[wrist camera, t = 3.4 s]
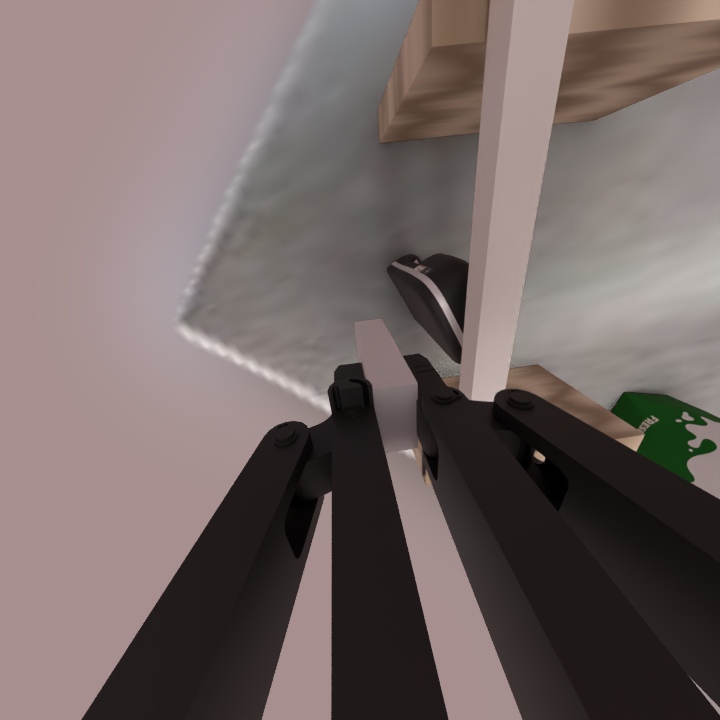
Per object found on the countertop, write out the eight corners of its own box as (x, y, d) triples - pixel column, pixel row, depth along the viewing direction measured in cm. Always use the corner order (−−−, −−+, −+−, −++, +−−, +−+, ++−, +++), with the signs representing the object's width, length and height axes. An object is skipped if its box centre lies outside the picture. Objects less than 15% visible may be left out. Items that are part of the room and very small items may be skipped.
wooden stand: (603, 86, 20) (911, -77, 10) (534, 378, 33) (635, 452, 22) (377, 110, 20) (432, -37, 9) (394, 399, 32) (425, 485, 21)
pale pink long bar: (558, -50, 9) (614, -119, 7) (479, 478, 21) (492, 501, 19) (479, -44, 9) (516, -113, 7) (445, 483, 21) (455, 507, 19)
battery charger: (448, 302, 27) (517, 345, 17) (416, 322, 28) (465, 375, 18) (417, 241, 24) (479, 249, 14) (383, 266, 25) (418, 290, 15)
